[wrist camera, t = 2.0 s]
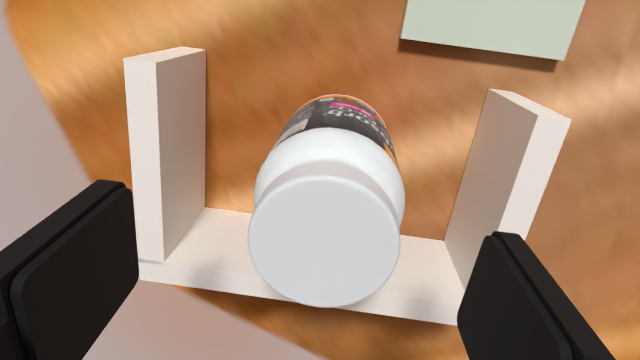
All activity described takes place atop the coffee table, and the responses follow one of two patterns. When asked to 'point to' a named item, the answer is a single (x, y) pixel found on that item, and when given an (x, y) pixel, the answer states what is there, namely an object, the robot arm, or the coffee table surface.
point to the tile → (495, 24)
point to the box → (232, 227)
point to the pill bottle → (328, 205)
